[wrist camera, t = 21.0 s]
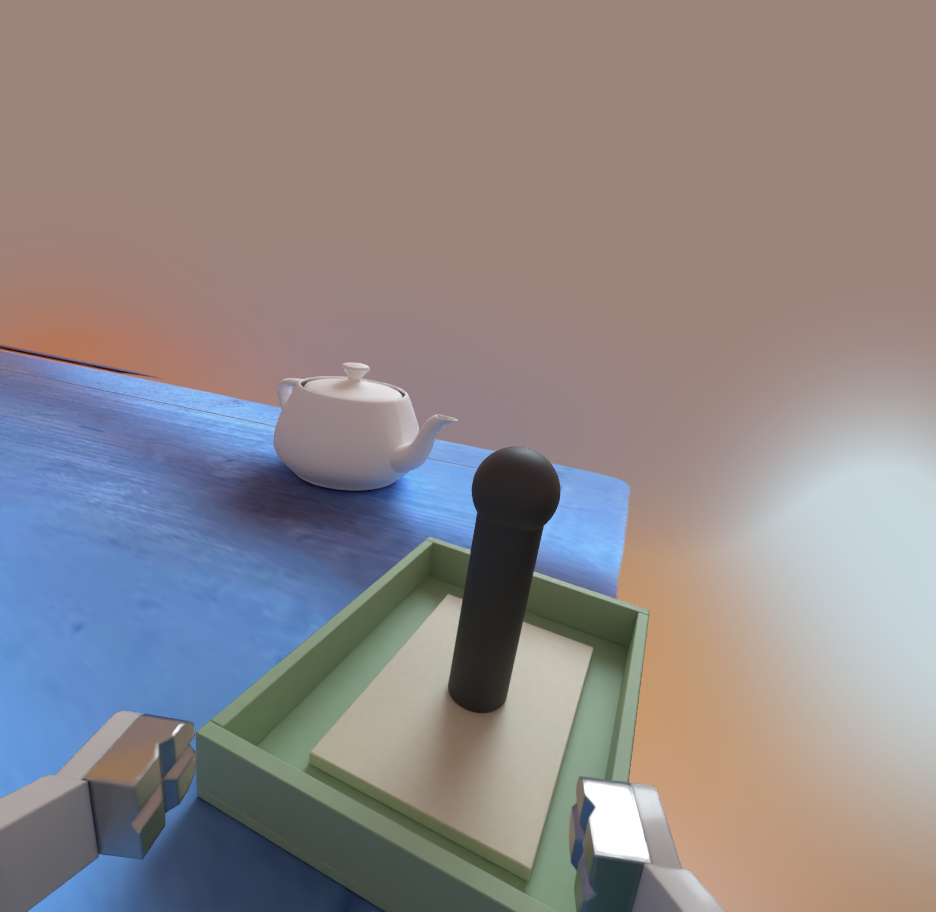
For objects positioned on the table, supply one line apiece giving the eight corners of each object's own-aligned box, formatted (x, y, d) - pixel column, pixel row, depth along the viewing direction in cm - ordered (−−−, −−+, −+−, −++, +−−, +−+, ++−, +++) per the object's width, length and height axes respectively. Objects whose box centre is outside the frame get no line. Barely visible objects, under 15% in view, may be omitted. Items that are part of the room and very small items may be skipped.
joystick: (528, 883, 17) (618, 547, 13) (307, 763, 20) (329, 459, 16) (591, 656, 29) (649, 442, 25) (446, 601, 32) (478, 402, 28)
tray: (581, 1033, 14) (606, 964, 13) (195, 796, 19) (195, 731, 18) (636, 653, 30) (649, 609, 30) (423, 575, 35) (429, 536, 34)
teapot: (219, 455, 50) (219, 343, 47) (328, 434, 61) (334, 343, 58) (390, 538, 39) (406, 400, 36) (484, 495, 50) (502, 387, 47)
